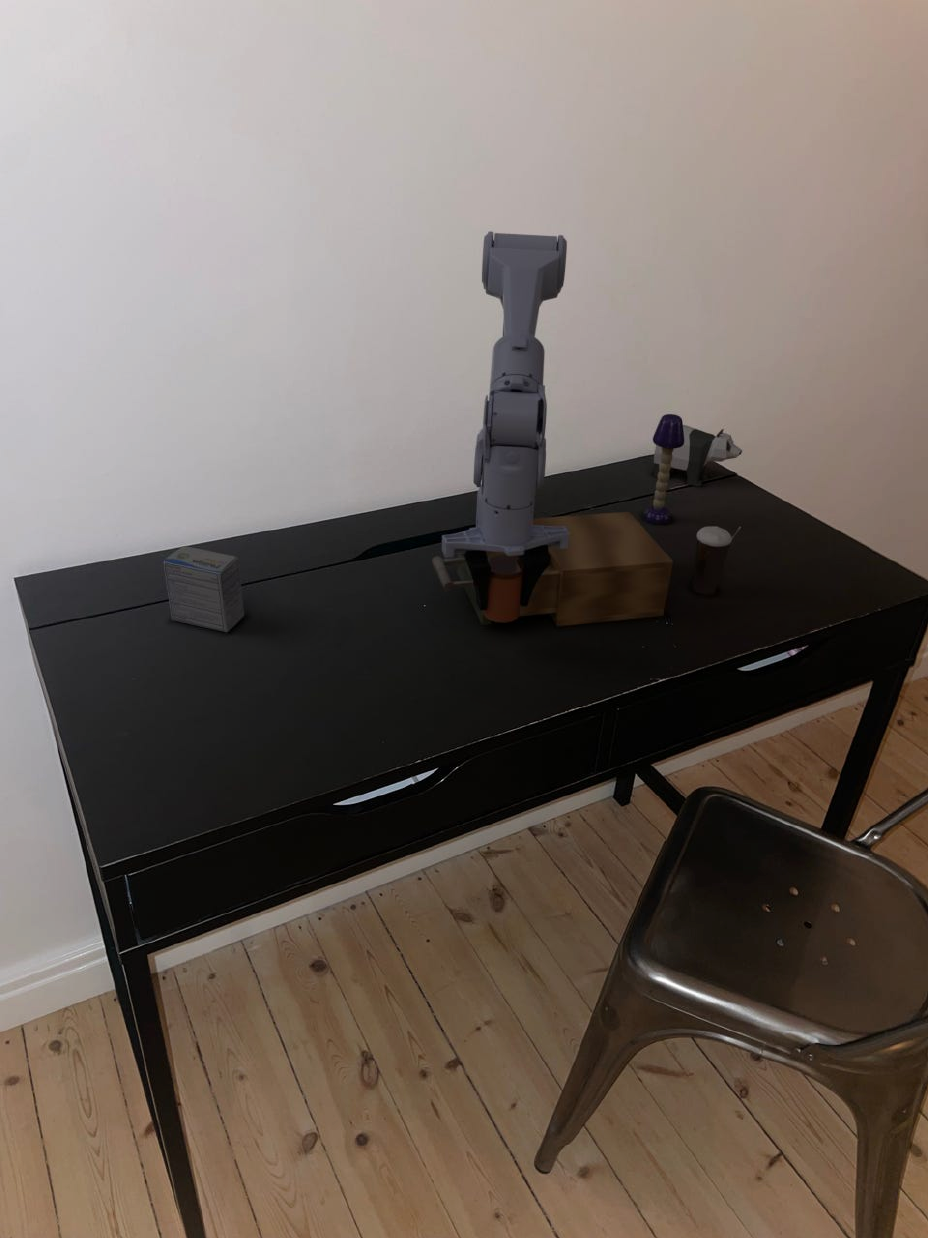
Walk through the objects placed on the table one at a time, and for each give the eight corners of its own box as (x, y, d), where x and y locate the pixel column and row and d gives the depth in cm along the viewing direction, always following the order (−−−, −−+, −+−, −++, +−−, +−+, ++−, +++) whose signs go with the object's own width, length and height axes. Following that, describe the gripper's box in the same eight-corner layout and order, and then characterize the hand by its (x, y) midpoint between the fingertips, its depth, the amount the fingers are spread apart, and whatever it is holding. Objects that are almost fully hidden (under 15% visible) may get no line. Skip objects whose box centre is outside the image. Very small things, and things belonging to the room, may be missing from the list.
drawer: (448, 628, 118) (449, 584, 115) (426, 576, 129) (427, 534, 126) (584, 615, 122) (589, 572, 119) (551, 565, 133) (555, 524, 130)
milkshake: (727, 600, 128) (741, 534, 123) (686, 595, 129) (699, 528, 124) (726, 584, 132) (740, 519, 127) (686, 579, 133) (699, 514, 128)
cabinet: (556, 626, 121) (562, 570, 117) (523, 571, 133) (528, 518, 129) (663, 616, 124) (673, 561, 120) (621, 562, 136) (629, 511, 132)
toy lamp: (673, 526, 147) (691, 422, 138) (643, 525, 147) (659, 421, 138) (668, 513, 151) (685, 411, 142) (638, 511, 151) (653, 410, 142)
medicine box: (245, 617, 120) (239, 556, 116) (226, 634, 117) (220, 572, 112) (190, 604, 122) (183, 544, 118) (170, 621, 119) (161, 559, 114)
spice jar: (487, 624, 111) (490, 575, 108) (477, 604, 115) (480, 556, 111) (525, 621, 112) (529, 572, 109) (514, 601, 116) (518, 553, 112)
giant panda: (645, 475, 164) (653, 421, 159) (656, 464, 168) (664, 412, 163) (729, 495, 158) (740, 440, 153) (738, 483, 162) (749, 430, 157)
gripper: (453, 518, 101) (449, 627, 108) (583, 509, 104) (570, 616, 111) (438, 491, 107) (436, 596, 114) (562, 483, 110) (552, 586, 117)
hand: (501, 604), depth 113 cm, fingers closed on spice jar, 4 cm apart
